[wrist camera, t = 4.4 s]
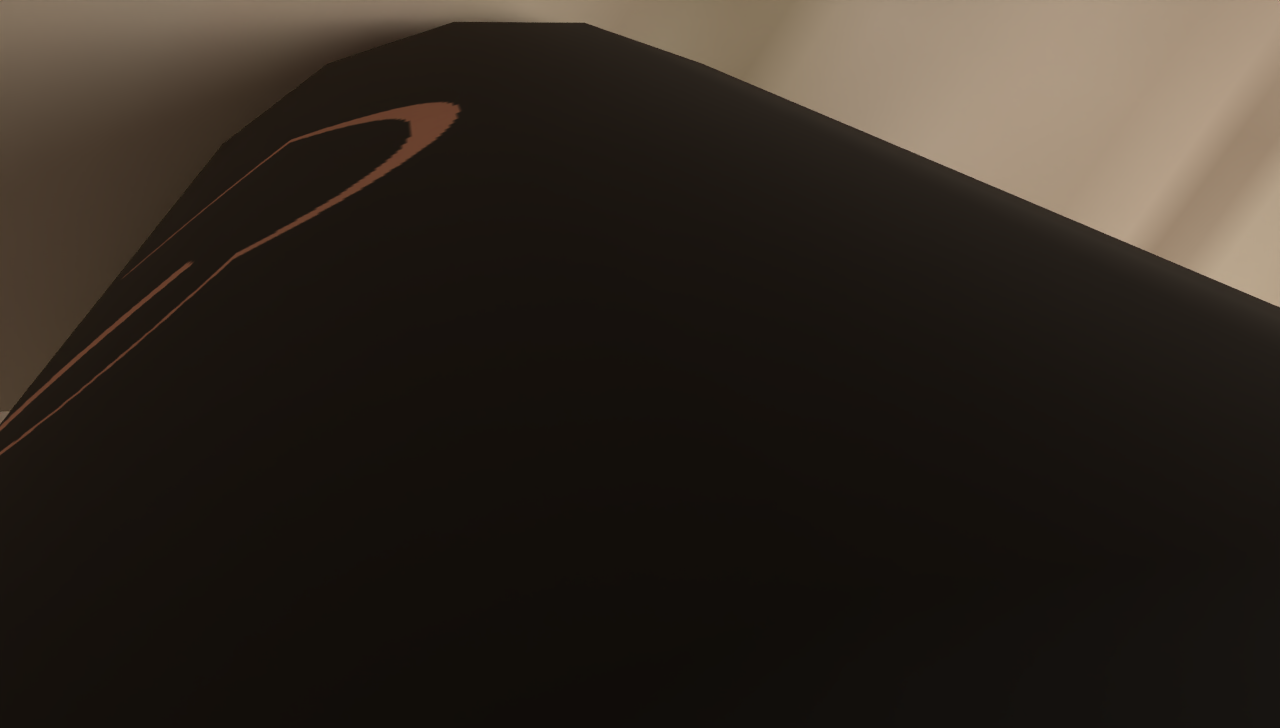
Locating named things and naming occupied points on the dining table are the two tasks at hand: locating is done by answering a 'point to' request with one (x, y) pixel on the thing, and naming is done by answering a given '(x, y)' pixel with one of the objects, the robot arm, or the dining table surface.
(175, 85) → the dining table surface
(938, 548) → the coffee jar
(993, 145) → the dining table surface
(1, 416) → the robot arm
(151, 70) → the dining table surface
